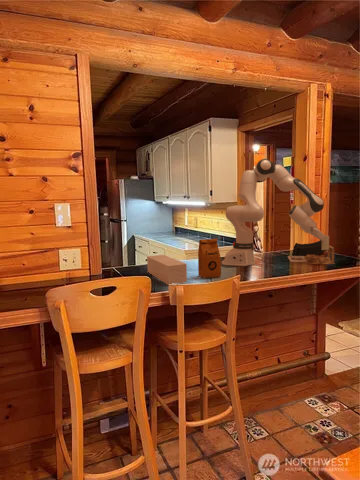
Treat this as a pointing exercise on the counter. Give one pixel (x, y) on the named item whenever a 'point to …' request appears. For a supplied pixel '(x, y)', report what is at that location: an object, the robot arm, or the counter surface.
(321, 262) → the rack
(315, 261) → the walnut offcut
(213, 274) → the coffee package
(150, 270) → the pinkish brown block
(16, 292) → the counter surface
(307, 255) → the oak offcut
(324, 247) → the board
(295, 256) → the tray
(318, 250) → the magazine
